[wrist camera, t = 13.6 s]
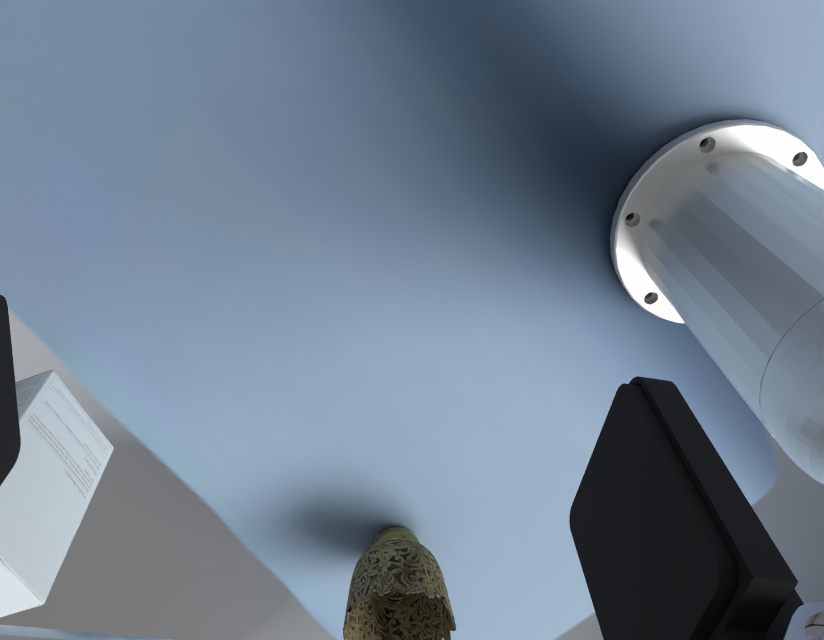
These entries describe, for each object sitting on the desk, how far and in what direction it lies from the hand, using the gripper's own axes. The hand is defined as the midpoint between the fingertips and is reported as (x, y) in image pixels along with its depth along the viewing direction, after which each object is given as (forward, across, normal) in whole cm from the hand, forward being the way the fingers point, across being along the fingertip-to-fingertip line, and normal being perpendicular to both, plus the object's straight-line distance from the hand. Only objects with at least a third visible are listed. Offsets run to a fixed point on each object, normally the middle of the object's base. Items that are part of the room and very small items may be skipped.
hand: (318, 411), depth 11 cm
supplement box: (+30, +18, +26) cm, 43 cm away
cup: (+30, -7, +34) cm, 46 cm away
